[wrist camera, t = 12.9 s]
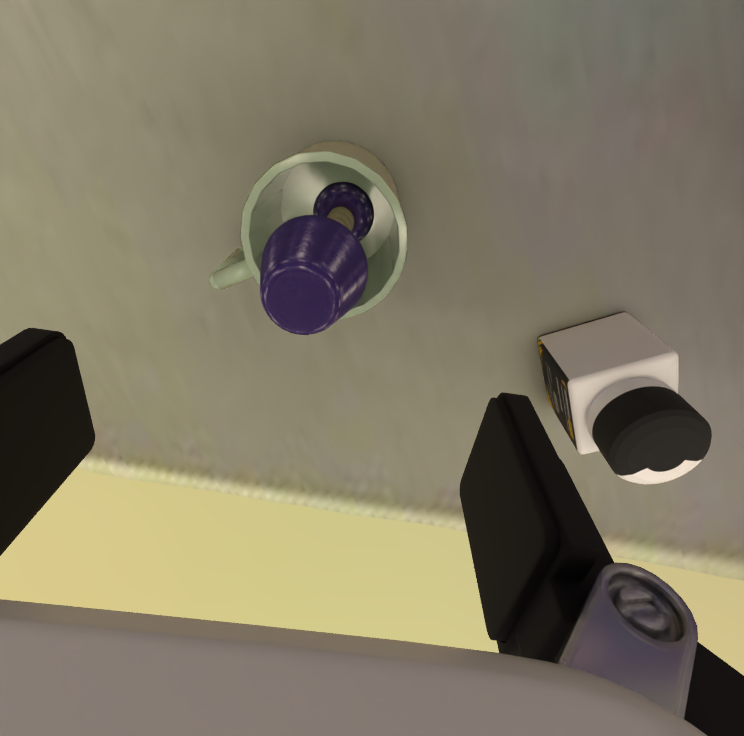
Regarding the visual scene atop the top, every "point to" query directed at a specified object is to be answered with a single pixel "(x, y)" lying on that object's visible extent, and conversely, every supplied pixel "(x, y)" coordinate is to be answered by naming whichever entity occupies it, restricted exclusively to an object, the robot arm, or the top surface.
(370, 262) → the mug
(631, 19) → the top surface
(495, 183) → the top surface
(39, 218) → the top surface
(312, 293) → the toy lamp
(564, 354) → the medicine bottle
